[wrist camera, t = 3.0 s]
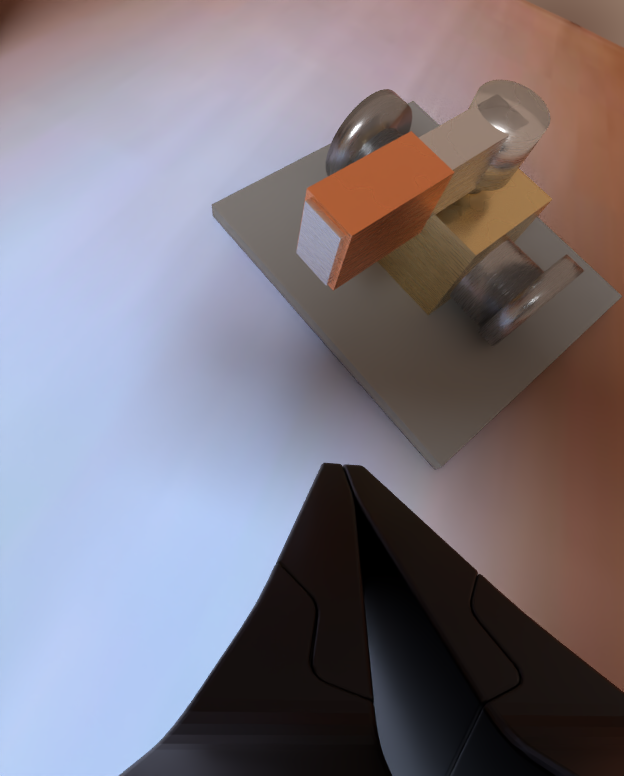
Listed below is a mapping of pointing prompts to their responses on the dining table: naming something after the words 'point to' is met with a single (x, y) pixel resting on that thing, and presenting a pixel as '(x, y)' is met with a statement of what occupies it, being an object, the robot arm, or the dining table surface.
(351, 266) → the valve lever
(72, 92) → the dining table surface
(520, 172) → the valve body
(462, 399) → the rubber mat
